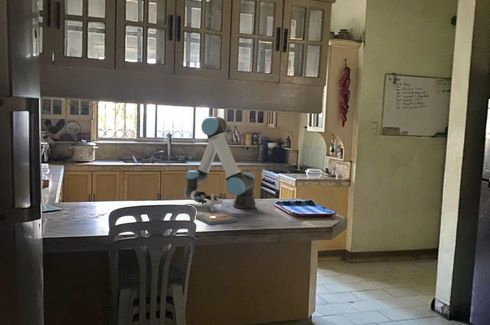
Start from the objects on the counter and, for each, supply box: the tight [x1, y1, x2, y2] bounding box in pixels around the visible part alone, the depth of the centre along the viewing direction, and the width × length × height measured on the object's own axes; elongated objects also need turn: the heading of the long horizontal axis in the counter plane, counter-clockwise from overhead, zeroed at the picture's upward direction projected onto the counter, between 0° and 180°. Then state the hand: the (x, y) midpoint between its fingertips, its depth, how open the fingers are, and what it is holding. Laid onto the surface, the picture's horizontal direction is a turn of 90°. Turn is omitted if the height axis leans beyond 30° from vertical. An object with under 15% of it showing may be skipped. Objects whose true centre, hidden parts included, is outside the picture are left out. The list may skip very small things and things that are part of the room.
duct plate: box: [195, 212, 238, 226], centre depth 269 cm, size 18×18×2 cm
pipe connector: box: [209, 193, 221, 212], centre depth 288 cm, size 10×10×10 cm
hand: (216, 202), depth 284 cm, fingers closed on pipe connector, 8 cm apart
